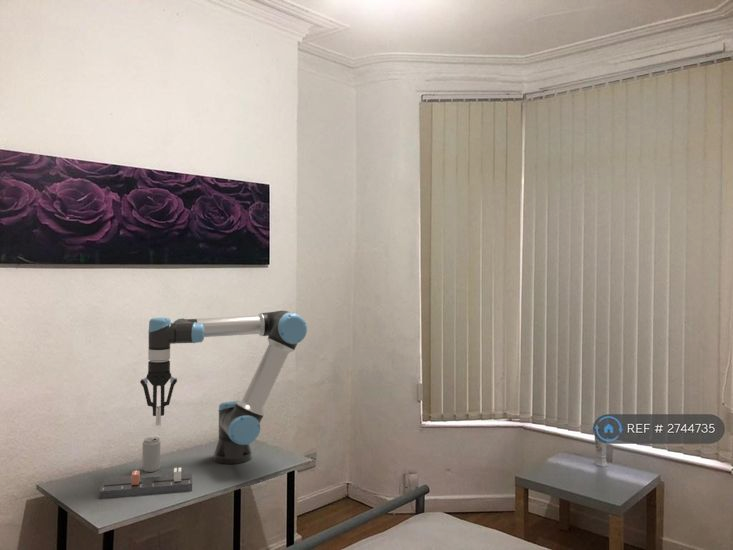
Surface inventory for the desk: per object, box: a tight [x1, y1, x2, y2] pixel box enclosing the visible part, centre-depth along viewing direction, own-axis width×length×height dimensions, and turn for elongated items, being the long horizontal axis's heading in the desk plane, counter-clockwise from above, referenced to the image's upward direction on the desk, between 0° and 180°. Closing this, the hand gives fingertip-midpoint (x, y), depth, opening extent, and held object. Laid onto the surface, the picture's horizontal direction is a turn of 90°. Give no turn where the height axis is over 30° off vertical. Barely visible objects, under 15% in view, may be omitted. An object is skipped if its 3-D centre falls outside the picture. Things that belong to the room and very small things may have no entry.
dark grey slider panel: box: [98, 473, 193, 500], centre depth 211 cm, size 30×10×3 cm, turn 106°
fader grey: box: [173, 466, 182, 482], centre depth 214 cm, size 2×4×4 cm, turn 16°
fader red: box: [130, 470, 141, 485], centre depth 210 cm, size 2×4×4 cm, turn 16°
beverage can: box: [142, 436, 161, 473], centre depth 231 cm, size 6×6×12 cm
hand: (158, 424), depth 220 cm, fingers closed
